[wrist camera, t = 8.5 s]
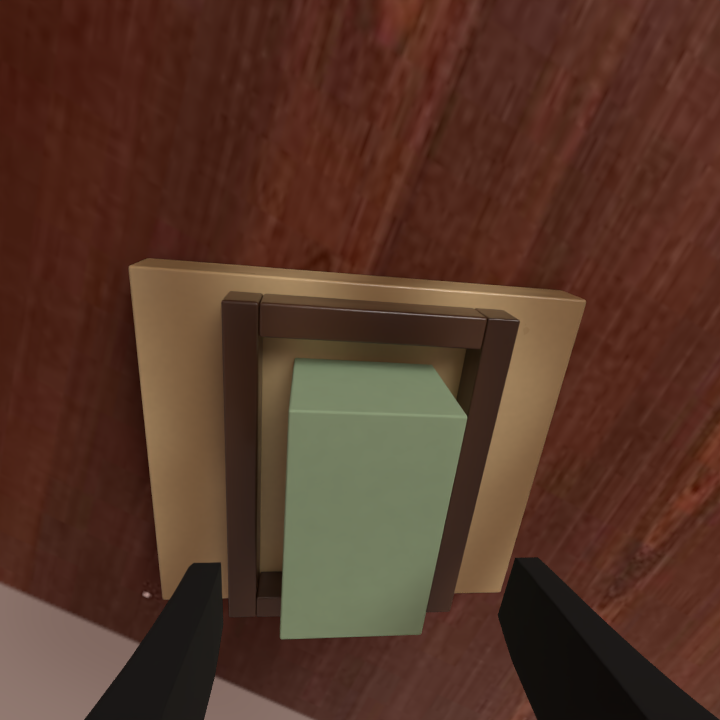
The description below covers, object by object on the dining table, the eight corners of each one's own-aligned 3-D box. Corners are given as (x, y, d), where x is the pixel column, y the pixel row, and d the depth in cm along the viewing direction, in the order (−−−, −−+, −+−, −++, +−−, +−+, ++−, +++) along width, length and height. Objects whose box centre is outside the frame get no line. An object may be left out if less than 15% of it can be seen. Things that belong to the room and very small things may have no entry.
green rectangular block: (286, 550, 16) (279, 640, 13) (294, 356, 13) (288, 410, 10) (400, 549, 17) (421, 635, 14) (432, 363, 14) (468, 416, 11)
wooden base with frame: (173, 569, 18) (150, 630, 15) (146, 257, 13) (107, 273, 11) (487, 564, 20) (512, 619, 17) (562, 289, 15) (612, 310, 12)
